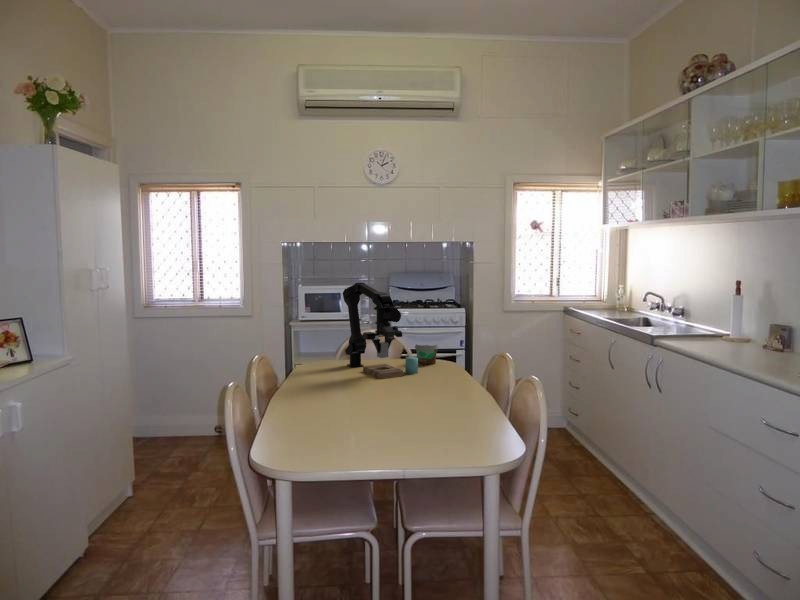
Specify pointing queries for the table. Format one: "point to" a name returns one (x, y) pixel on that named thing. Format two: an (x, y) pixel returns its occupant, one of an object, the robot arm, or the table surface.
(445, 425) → the table surface
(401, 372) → the bore block
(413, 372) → the round bit
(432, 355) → the food container
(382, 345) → the square bit
